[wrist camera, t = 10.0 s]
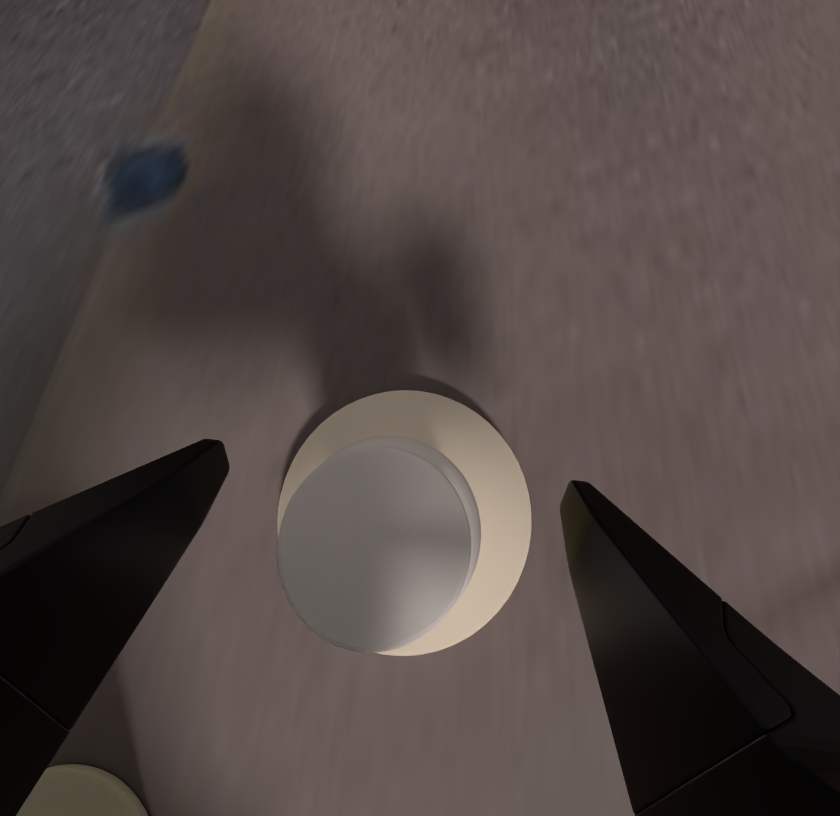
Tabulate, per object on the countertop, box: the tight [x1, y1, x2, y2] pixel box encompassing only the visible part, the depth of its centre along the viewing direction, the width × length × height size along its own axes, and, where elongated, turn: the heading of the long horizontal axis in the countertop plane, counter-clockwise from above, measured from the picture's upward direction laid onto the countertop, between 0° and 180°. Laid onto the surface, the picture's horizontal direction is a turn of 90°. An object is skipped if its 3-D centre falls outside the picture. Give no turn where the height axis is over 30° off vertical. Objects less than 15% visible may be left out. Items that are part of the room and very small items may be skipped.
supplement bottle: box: [277, 436, 481, 653], centre depth 12 cm, size 5×5×10 cm
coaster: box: [277, 390, 531, 656], centre depth 17 cm, size 12×12×1 cm
